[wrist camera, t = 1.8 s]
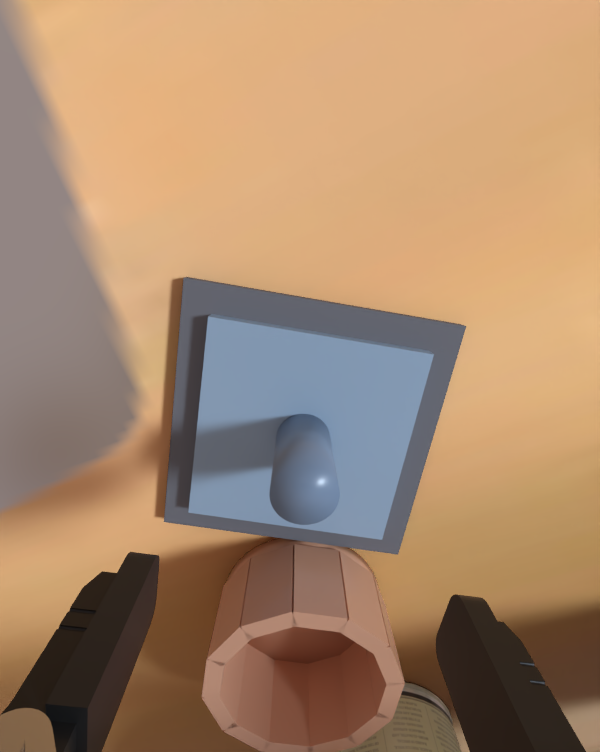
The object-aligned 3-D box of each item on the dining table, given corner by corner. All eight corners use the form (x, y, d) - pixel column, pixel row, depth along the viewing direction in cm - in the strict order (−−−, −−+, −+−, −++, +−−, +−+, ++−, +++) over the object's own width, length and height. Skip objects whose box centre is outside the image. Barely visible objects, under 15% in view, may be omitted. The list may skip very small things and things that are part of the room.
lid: (428, 350, 20) (479, 388, 14) (379, 530, 23) (405, 618, 17) (211, 314, 19) (176, 338, 14) (191, 503, 22) (156, 585, 17)
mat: (461, 324, 20) (465, 326, 19) (395, 547, 24) (397, 554, 23) (187, 277, 19) (183, 277, 19) (167, 515, 23) (164, 521, 23)
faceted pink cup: (396, 546, 24) (423, 628, 19) (361, 665, 27) (376, 765, 22) (233, 523, 23) (214, 601, 18) (215, 647, 26) (195, 745, 21)
